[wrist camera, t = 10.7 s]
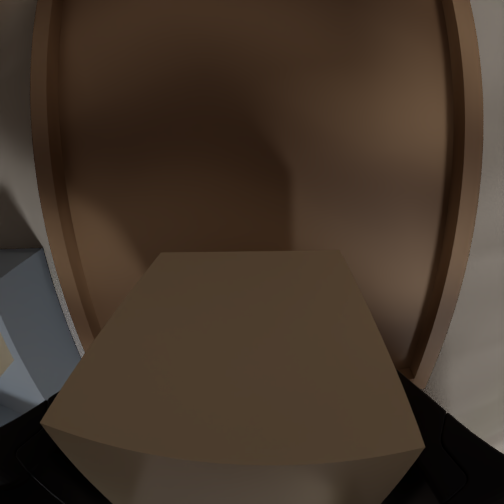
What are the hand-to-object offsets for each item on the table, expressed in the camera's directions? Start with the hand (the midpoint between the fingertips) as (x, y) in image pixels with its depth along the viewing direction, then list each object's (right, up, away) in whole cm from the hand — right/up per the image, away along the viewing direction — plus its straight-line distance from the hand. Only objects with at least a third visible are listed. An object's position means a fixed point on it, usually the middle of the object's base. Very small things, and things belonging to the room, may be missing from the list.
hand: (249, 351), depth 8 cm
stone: (0, 0, +1) cm, 1 cm away
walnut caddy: (0, +5, +2) cm, 6 cm away
